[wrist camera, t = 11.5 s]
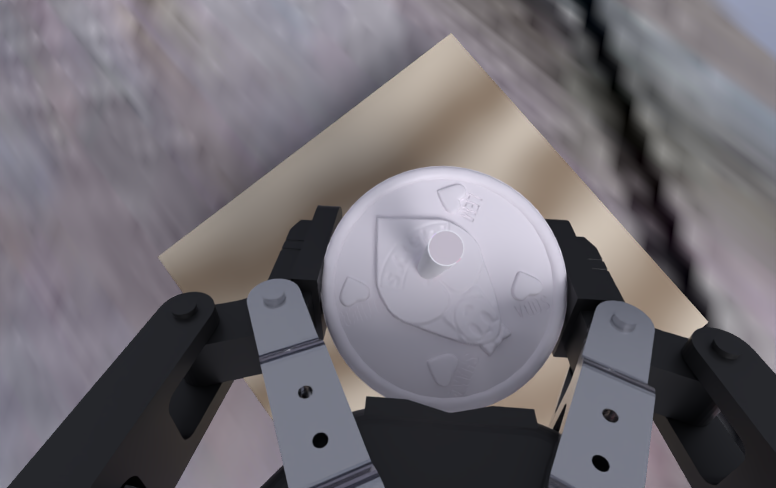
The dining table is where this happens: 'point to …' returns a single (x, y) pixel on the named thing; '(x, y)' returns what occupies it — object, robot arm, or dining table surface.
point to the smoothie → (444, 288)
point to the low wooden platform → (408, 152)
